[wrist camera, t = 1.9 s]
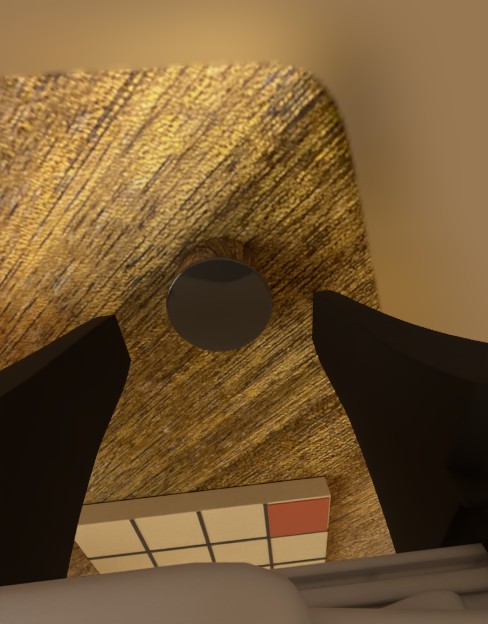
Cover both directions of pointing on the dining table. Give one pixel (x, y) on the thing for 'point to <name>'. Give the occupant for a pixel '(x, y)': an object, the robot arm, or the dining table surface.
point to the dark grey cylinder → (219, 296)
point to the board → (210, 527)
